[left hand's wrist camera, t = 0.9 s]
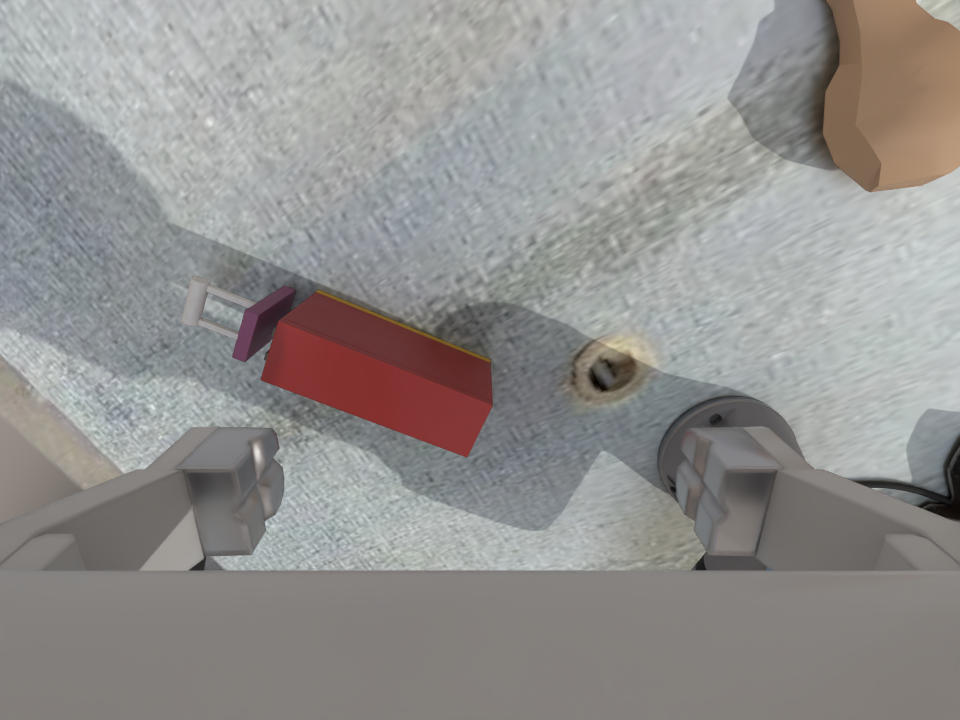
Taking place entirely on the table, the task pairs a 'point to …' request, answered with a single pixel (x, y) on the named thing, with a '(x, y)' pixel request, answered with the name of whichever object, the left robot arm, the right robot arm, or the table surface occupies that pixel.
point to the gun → (956, 511)
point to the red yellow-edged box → (381, 372)
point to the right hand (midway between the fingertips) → (278, 549)
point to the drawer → (255, 321)
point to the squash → (893, 95)
